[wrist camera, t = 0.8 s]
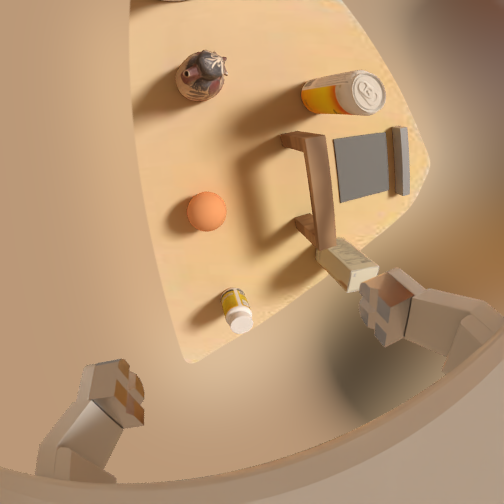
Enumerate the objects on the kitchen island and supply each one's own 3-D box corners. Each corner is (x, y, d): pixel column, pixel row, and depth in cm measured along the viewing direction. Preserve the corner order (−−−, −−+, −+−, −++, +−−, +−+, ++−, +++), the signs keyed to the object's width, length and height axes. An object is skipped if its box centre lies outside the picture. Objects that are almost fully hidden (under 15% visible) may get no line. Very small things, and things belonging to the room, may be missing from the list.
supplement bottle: (218, 306, 54) (225, 335, 47) (222, 286, 52) (229, 314, 45) (242, 307, 55) (252, 335, 48) (246, 287, 54) (257, 314, 46)
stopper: (391, 126, 45) (400, 128, 43) (398, 126, 46) (407, 127, 43) (395, 192, 52) (402, 196, 50) (401, 190, 52) (409, 194, 50)
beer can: (320, 120, 42) (374, 125, 29) (292, 99, 40) (340, 94, 27) (337, 94, 41) (394, 91, 28) (311, 72, 38) (363, 59, 25)
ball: (182, 194, 43) (182, 205, 38) (218, 183, 43) (223, 192, 38) (192, 227, 46) (194, 242, 40) (227, 217, 46) (233, 230, 41)
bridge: (296, 227, 50) (319, 251, 42) (280, 134, 42) (305, 138, 34) (311, 223, 51) (336, 245, 42) (297, 131, 42) (325, 135, 34)
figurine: (229, 92, 37) (246, 82, 27) (185, 108, 37) (185, 102, 26) (214, 52, 34) (226, 29, 23) (169, 68, 33) (165, 48, 23)
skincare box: (314, 259, 54) (344, 294, 44) (316, 239, 53) (349, 271, 42) (342, 256, 56) (375, 288, 45) (345, 236, 54) (380, 266, 43)
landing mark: (333, 139, 44) (333, 139, 44) (384, 132, 46) (385, 132, 45) (340, 202, 50) (340, 202, 50) (388, 189, 51) (389, 190, 51)
